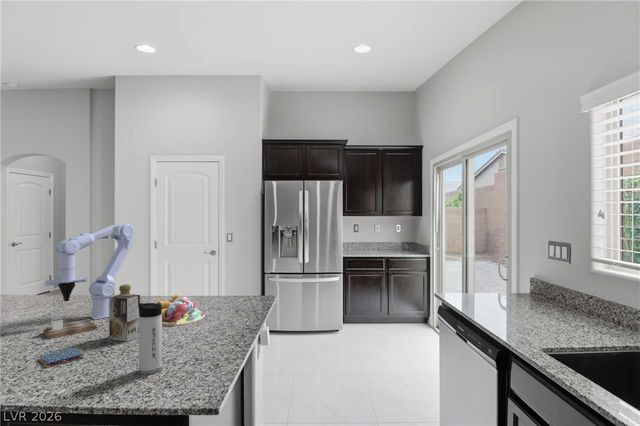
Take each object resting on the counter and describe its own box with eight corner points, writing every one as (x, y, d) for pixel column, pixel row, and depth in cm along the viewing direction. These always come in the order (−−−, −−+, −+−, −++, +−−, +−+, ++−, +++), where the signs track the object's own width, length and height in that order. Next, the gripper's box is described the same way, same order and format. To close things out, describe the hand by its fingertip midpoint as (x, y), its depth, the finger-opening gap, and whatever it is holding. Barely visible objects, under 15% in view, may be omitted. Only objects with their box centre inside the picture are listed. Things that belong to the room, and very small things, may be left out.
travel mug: (142, 366, 109) (143, 301, 109) (164, 365, 110) (165, 300, 110) (133, 375, 103) (134, 306, 103) (157, 374, 104) (157, 306, 104)
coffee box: (141, 336, 136) (141, 294, 136) (126, 342, 130) (127, 298, 130) (122, 334, 139) (123, 292, 139) (108, 339, 133) (108, 296, 133)
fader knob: (60, 327, 142) (60, 316, 142) (63, 329, 139) (63, 318, 139) (50, 328, 140) (50, 318, 140) (53, 331, 137) (53, 320, 137)
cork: (125, 308, 178) (125, 286, 178) (115, 307, 179) (115, 285, 179) (134, 305, 184) (134, 283, 184) (124, 304, 185) (124, 283, 185)
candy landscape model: (136, 322, 156) (136, 301, 156) (175, 308, 178) (175, 290, 178) (182, 328, 147) (182, 306, 147) (217, 313, 169) (217, 294, 169)
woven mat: (75, 351, 123) (75, 345, 123) (85, 359, 116) (85, 353, 116) (37, 361, 115) (37, 354, 115) (46, 370, 108) (46, 363, 108)
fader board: (89, 323, 152) (89, 318, 152) (96, 329, 145) (96, 322, 145) (42, 333, 140) (43, 326, 140) (48, 339, 133) (48, 332, 133)
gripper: (84, 266, 158) (83, 296, 158) (43, 269, 148) (42, 302, 147) (88, 267, 154) (88, 299, 153) (47, 271, 143) (46, 304, 143)
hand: (66, 300), depth 150 cm, fingers closed
